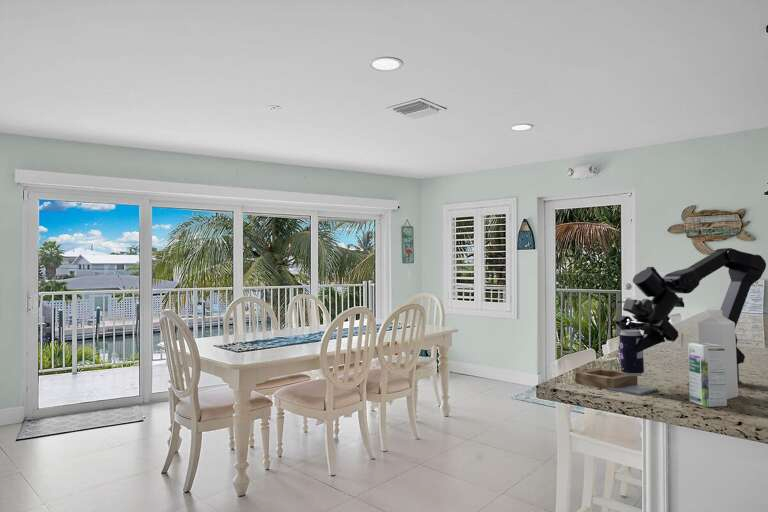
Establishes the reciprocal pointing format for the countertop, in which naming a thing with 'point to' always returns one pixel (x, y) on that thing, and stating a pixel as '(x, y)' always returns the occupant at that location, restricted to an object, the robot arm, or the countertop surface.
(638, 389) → the slate coaster
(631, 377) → the walnut pocket block
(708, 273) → the robot arm
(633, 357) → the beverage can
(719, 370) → the syrup box
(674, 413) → the countertop surface
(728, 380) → the milk
